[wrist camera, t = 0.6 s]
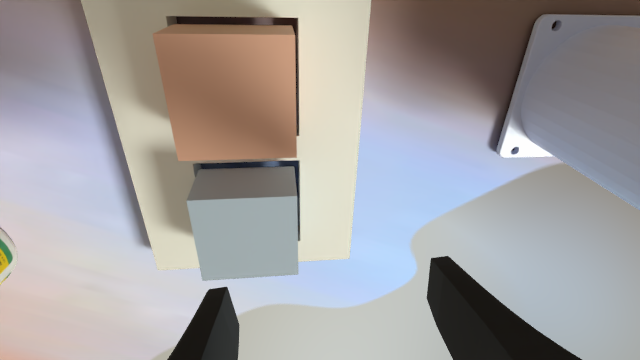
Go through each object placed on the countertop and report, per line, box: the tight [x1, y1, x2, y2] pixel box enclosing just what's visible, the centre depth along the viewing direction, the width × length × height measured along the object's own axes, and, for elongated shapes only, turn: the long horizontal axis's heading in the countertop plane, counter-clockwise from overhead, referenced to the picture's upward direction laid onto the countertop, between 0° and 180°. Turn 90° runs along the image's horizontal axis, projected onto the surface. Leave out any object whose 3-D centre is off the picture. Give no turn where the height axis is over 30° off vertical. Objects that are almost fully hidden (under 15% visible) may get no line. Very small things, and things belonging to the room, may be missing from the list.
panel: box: [81, 0, 371, 270], centre depth 17 cm, size 12×23×2 cm, turn 179°
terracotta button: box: [153, 24, 297, 161], centre depth 15 cm, size 5×5×3 cm
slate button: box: [186, 166, 298, 281], centre depth 18 cm, size 5×5×3 cm
